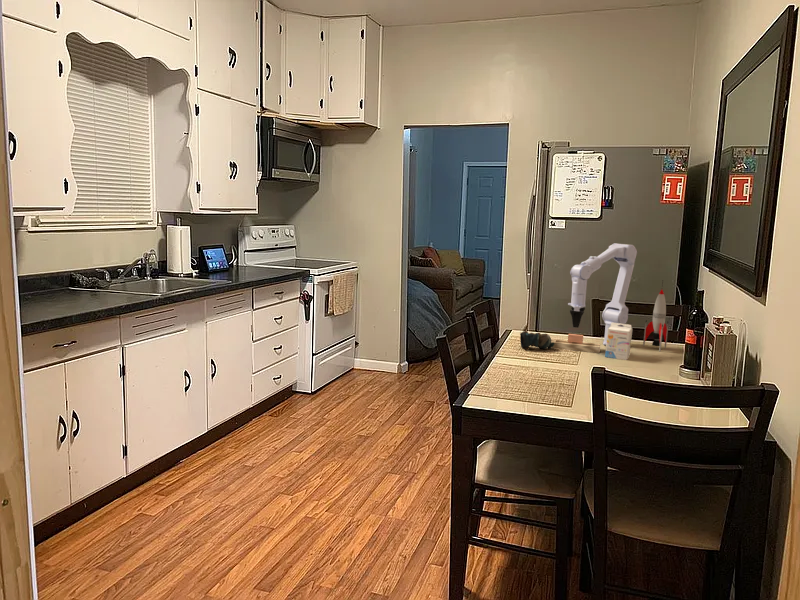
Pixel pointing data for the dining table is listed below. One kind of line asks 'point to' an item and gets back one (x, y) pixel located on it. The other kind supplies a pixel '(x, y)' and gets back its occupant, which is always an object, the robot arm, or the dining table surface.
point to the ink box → (618, 341)
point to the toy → (657, 322)
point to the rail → (576, 346)
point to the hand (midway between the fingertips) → (576, 325)
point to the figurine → (535, 340)
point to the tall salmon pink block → (575, 338)
